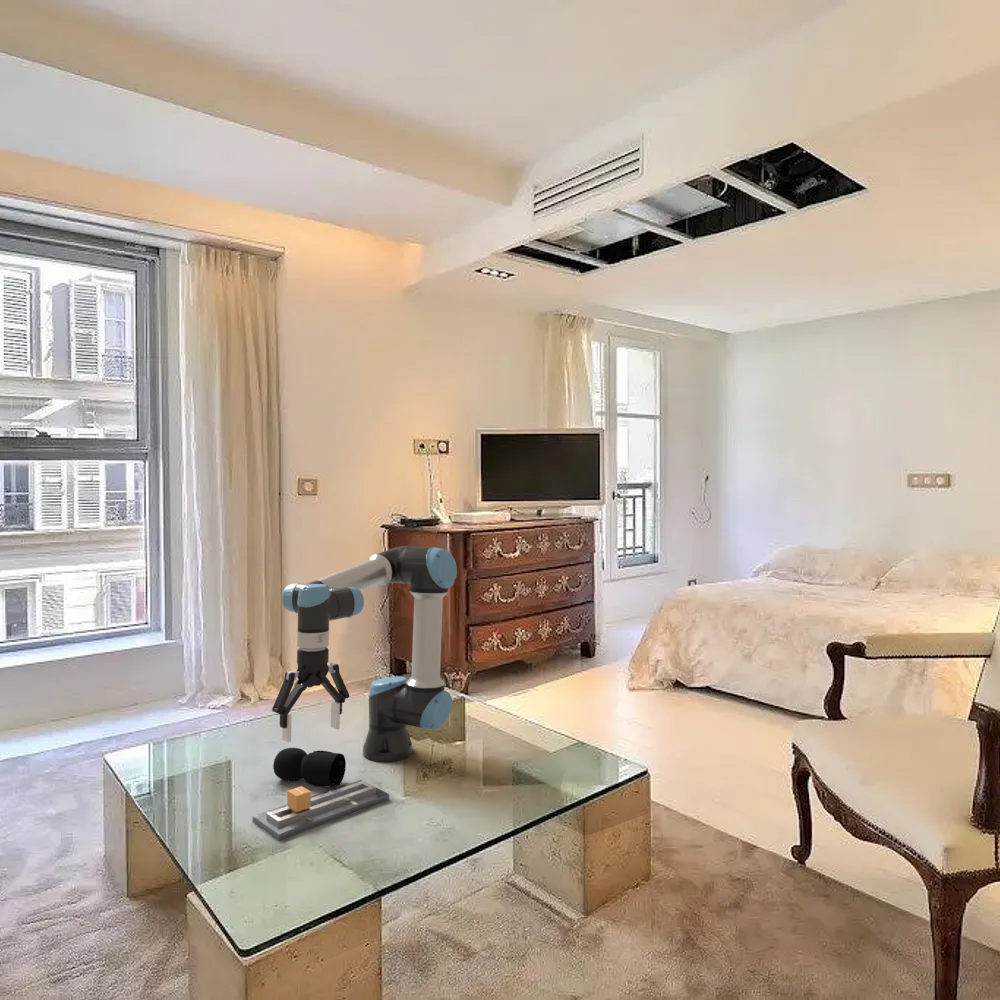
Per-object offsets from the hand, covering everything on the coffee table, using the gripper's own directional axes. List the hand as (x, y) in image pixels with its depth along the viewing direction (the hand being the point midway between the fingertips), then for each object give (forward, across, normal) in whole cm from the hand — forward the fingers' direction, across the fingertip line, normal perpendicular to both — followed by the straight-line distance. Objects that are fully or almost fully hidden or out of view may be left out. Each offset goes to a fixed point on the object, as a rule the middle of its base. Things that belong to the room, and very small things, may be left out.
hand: (311, 734), depth 181 cm
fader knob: (+20, 0, +4) cm, 21 cm away
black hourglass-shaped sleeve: (+22, +14, +22) cm, 34 cm away
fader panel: (+22, +7, +4) cm, 24 cm away
